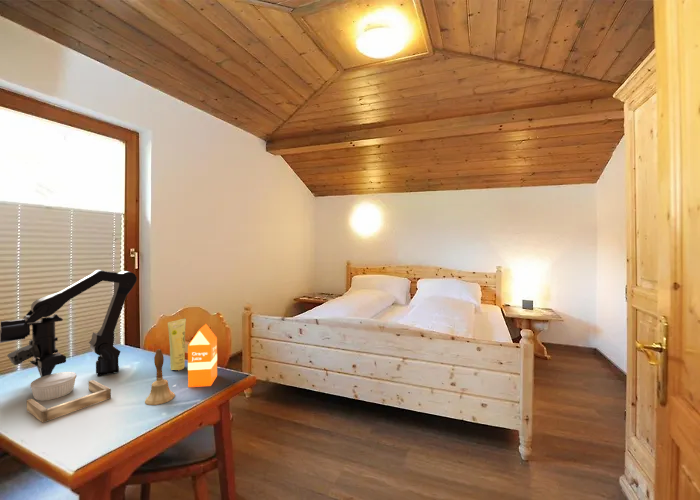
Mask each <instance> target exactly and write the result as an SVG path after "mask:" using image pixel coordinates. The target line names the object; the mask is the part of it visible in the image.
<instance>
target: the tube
mask: <svg viewBox="0 0 700 500" xmlns="http://www.w3.org/2000/svg"><path fill="white" fill-rule="evenodd" d="M186 324H187V319H186V318H181V319H177V320H173V321H168V322H167V329H168V339H169V340H168V341H169V357H170V363H169V365H170V370H171V371H172V370H178V371H181V370H184V369H185V366H186V364H185V362H186V361H185V359H186V358H185V355H186V354H185V352H186V349H185V348H186Z"/></svg>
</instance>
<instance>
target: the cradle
mask: <svg viewBox="0 0 700 500" xmlns="http://www.w3.org/2000/svg"><path fill="white" fill-rule="evenodd" d="M88 391H90V392H92V393H90V394H86V395H84V396H81V397H78V398H75V399H72V400H69V401H66V402H64V403H60V404H57V405H54V406H52V407H48V408H46V407H45V406H43V405H42V404H40V403H39V402H37V400H36V399H34V398H30V399H27V400H26V411H27V412H28V411H29V412H28V413H29V414H31V415H33V416H34V417H35V418H36V419H38V421H40V422H41V423H46V422H49V421H52V420H54V419H58V418H60V417H62V416H65V415H69V414H70V413H74V412H76V411H78V410H81V409H85V408H87V407H90V406H93V405H96V404H99V403H100V402H103V401H106V400H110V399H111V398H112V389H111V388H110V387H108V386H106V385H104V384H102V383H100V382H98V381H96V380H94V379H92V380H89V381H88Z"/></svg>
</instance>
